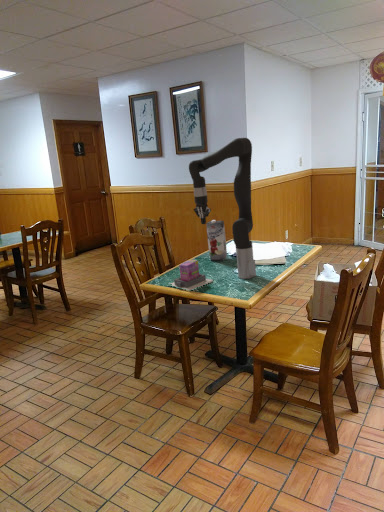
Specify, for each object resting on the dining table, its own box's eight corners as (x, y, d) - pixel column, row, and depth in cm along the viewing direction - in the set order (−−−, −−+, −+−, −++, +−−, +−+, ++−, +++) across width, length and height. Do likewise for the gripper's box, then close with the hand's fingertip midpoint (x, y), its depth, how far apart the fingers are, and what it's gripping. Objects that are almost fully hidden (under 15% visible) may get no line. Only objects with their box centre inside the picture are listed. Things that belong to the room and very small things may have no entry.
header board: (213, 281, 222) (212, 274, 221) (189, 292, 210) (189, 284, 209) (191, 276, 235) (190, 270, 233) (168, 286, 223) (167, 279, 222)
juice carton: (214, 257, 269) (210, 218, 262) (228, 257, 264) (224, 218, 257) (208, 261, 262) (204, 221, 254) (223, 261, 257) (219, 221, 250)
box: (189, 286, 216) (187, 265, 213) (181, 284, 219) (178, 264, 216) (200, 279, 224) (198, 260, 221) (192, 278, 227) (189, 259, 224)
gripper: (213, 194, 228) (216, 223, 233) (197, 193, 238) (200, 222, 242) (204, 196, 223) (207, 226, 228) (188, 195, 233) (191, 224, 237)
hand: (203, 224), depth 235 cm, fingers closed
